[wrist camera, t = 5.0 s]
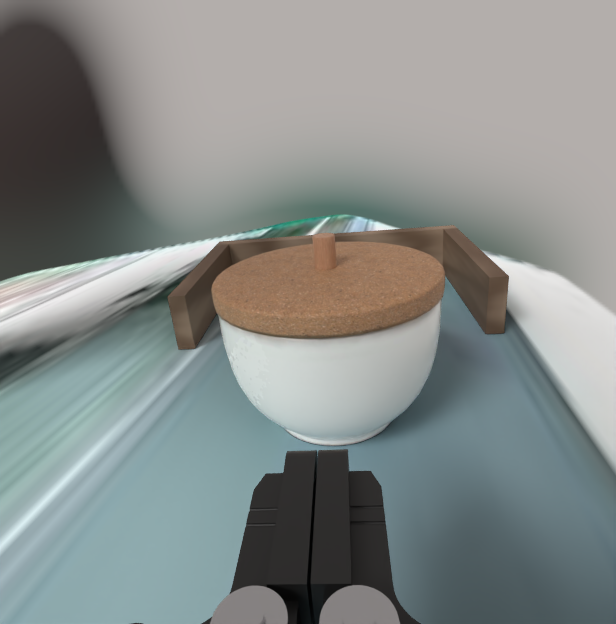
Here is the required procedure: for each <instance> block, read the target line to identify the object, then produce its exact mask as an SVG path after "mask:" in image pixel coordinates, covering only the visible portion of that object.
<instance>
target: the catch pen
mask: <svg viewBox="0 0 616 624" xmlns="http://www.w3.org/2000/svg"><path fill="white" fill-rule="evenodd" d="M312 236H313V235H308V236H294V237H280V238H266V239H251V240H237V241H223V242H219V243H218V244H217V245H216V246H215V247H214V248H213V249H212V250H211V251H210V252H209V254H208V255H207V256H206V257H205V258H204V259H203V260H202V261H201V262H200V263H199V264H198V265H197V266H196V267H195V268H194V269H193V270H192V271H191V272H190V274H189V275H188V276H187V277H186V278H185V279H184V280H183V281H182V282H181V283H180V284H179V285H178V286H177V287H176V288H175V289H174V290H173V291H172V293H171V294H170V295H169V296H168V302H169V307H170V311H171V316H172V321H173V325H174V330H175V335H176V340H177V344H178V349H195V348H196V346H197V345H198V343H199V341H200V340H201V338H202V337H203V335H204V333H205V332H206V330H207V328H208V327H209V325H210V324H211V322H212V320H213V319H214V317H215V316H216V314H217V313H216V310H215V307H214V303H213V298H212V292H211V289H212V284H213V283H214V281H215V279H216V277H217V276H218V275H219V274H220V273H222V272H223V271H224V270H225V269H227V268H229V267H230V266H232V265H234V264H236V263H238V262H240V261H243V260H245V259H248V258H250V257H252V256H256V255H259V254H262V253H266V252H270V251H274V250H277V249H283V248H288V247H294V246H300V245H306V244H313V240H312ZM335 242H376V243H387V244H394V245H399V246H404V247H410V248H413V249H416V250H419V251H422V252H424V253H427V254H429V255H431V256H433V257H434V258H435V259H437V260H438V261H439V262H440V264H441V265H442V266H443V268H444V271H445V275H446V277H447V278H448V280H449V281H450V283H451V284H452V286H453V287H454V289H455V290H456V292H457V293H458V294H459V296H460V297H461V299H462V300H463V302H464V303H465V305H466V306H467V308H468V309H469V311H470V312H471V313H472V315H473V316H474V318H475V319H476V321H477V322H478V324H479V325H480V327H481V328H482V330H483V331H484V332H485V334H498V333H504V328H505V316H506V304H507V292H508V280H509V276H508V275H507V274H506V273H505V272H504V271H503V270H502V269H500V268H499V267H498V266H497V265H496V264H495V263H494V262H493V261H492V260H491V259H490V258H489V257H487V256H486V255H485V254H484V253H483V252H482V251H481V250H480V249H479V248H478V247H477V246H475V245H474V244H473V243H472V242H471V241H470V240H469V239H468V238H467V237H466V236H465V235H464V234H463V233H462V232H460V231H459V230H458V229H457V228H456V227H455V226H454V225H451V226H438V227H423V228H409V229H394V230H380V231H366V232H351V233H337V234H335Z"/></svg>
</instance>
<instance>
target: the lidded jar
mask: <svg viewBox="0 0 616 624" xmlns="http://www.w3.org/2000/svg"><path fill="white" fill-rule="evenodd" d="M312 240H313V244H306V245H300V246H294V247H288V248H283V249H277V250H274V251H270V252H266V253H262V254H259V255H256V256H252V257H250V258H248V259H245V260H243V261H240V262H238V263H236V264H234V265H232V266H230V267H229V268H227V269H225V270H224V271H223V272H222V273H220V274H219V275H218V276H217V277H216V279H215V281H214V283H213V284H212V289H211V292H212V298H213V303H214V307H215V310H216V313H217V314H218V316H219V322H220V328H221V333H222V337H223V342H224V346H225V349H226V352H227V355H228V358H229V362H230V365H231V368H232V370H233V373H234V375H235V377H236V379H237V381H238V384H239V385H240V387H241V388H242V390H243V391H244V393H245V394H246V396H247V397H248V399H249V400H250V401H251V403H252V404H253V405H254V406H255V407H256V408H257V409H258V410H259V411H260V412H261V413H262V414H264V415H265V416H266V417H267V418H268V419H270V420H272V421H273V422H275V423H276V424H278V425H280V426H281V427H283V428H284V429H285V430H286V431H287V432H288V433H290V434H291V435H293V436H294V437H296V438H298V439H300V440H302V441H305V442H308V443H312V444H317V445H325V446H340V445H349V444H354V443H358V442H362V441H365V440H367V439H370V438H372V437H374V436H376V435H377V434H379V433H380V432H382V431H383V430H384V429H385V428H386V427H387V426H388V425H389V424H390V422H391V421H392V420H394V419H395V418H396V417H398V416H399V415H400V414H401V413H402V412H404V411H405V410H406V409H407V408H408V407H409V406H410V405H411V404H412V402H413V401H414V400H415V399H416V397H417V396H418V395H419V394H420V392H421V390H422V388H423V386H424V384H425V382H426V380H427V378H428V376H429V374H430V372H431V369H432V366H433V362H434V359H435V355H436V350H437V344H438V339H439V333H440V323H441V300H442V297H443V293H444V288H445V271H444V268H443V266H442V265H441V264H440V262H439V261H438V260H437V259H435V258H434V257H433V256H431V255H429V254H427V253H424V252H422V251H419V250H416V249H413V248H410V247H404V246H399V245H394V244H387V243H376V242H335V234H333V233H320V234H315V235H313V236H312Z"/></svg>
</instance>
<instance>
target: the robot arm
mask: <svg viewBox="0 0 616 624" xmlns="http://www.w3.org/2000/svg"><path fill="white" fill-rule="evenodd" d="M133 624H142V623H133ZM202 624H421V623H419V622H417V621H416V620H415V619H413V618H412V617H411V616H410V615H409V614H408V613H407V612H406V611H405V610H404V609H403V608H402V606H401V605H400V603H399V601H398V600H397V598H396V595H395V592H394V588H393V582H392V573H391V565H390V556H389V548H388V539H387V531H386V524H385V514H384V506H383V497H382V489H381V485H380V484H379V483H378V481H377V480H376V478H375V477H374V475H373V474H372V472H371V471H349V460H348V449H344V450H319V451H318V456H317V451H316V450H315V451H287V453H286V459H285V465H284V472H283V473H273V474H265V476H264V477H263V478H262V480H261V481H260V482H259V484H258V485H257V486H256V488H255V489H254V492H253V496H252V501H251V505H250V512H249V514H248V518H247V523H246V527H245V532H244V536H243V541H242V545H241V549H240V554H239V558H238V563H237V567H236V572H235V576H234V581H233V585H232V588H231V592H230V594H229V595H228V596H227V597H226V598H225V599H224V600H223V601H222V602H221V603H220V604H219V605H218V607H217V608H216V610H215V612H214V614H213V616H212V617H211V618H210V619H208V620H207V621H205V622H204V623H202Z"/></svg>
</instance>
